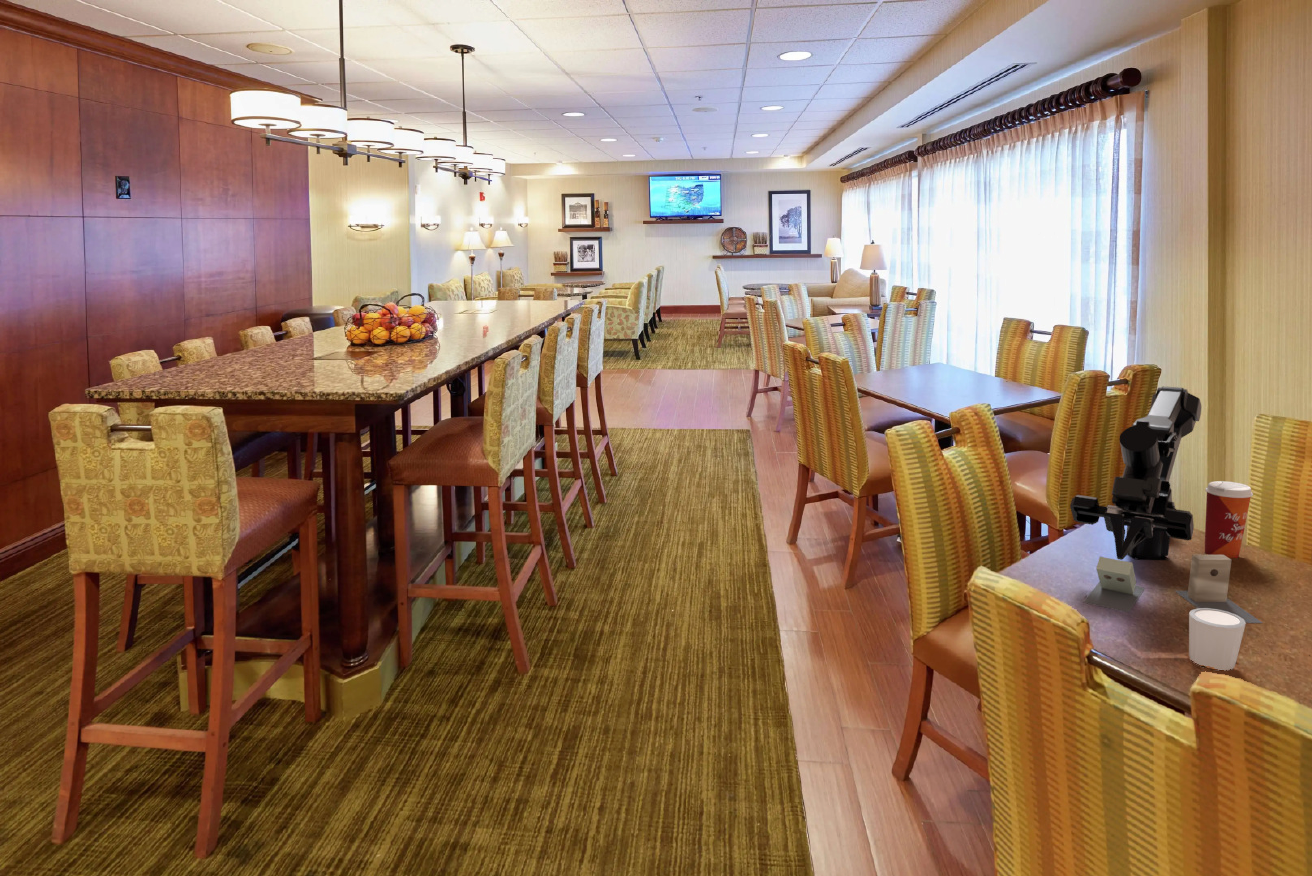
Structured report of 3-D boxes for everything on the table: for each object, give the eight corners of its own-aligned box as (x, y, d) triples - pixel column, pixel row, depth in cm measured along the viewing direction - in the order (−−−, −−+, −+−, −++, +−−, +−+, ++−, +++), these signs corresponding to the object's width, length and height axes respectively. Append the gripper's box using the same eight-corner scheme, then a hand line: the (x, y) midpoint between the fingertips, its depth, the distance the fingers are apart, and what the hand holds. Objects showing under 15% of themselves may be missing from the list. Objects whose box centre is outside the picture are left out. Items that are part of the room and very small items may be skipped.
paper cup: (1230, 564, 160) (1239, 493, 157) (1189, 552, 167) (1197, 484, 164) (1254, 556, 164) (1263, 486, 161) (1212, 545, 170) (1220, 478, 167)
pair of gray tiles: (1098, 623, 137) (1099, 619, 137) (1060, 581, 154) (1060, 578, 154) (1263, 627, 134) (1263, 623, 134) (1205, 583, 151) (1205, 580, 151)
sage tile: (1104, 576, 150) (1099, 556, 145) (1136, 582, 147) (1132, 562, 142) (1101, 588, 149) (1096, 569, 144) (1133, 595, 146) (1129, 575, 141)
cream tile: (1187, 595, 145) (1192, 554, 143) (1218, 596, 145) (1223, 554, 143) (1195, 601, 143) (1200, 559, 141) (1226, 602, 142) (1231, 559, 141)
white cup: (1185, 646, 128) (1190, 603, 127) (1240, 657, 125) (1245, 613, 123) (1182, 665, 123) (1187, 620, 121) (1239, 677, 119) (1245, 631, 118)
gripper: (1077, 451, 152) (1055, 525, 146) (1198, 465, 141) (1179, 546, 135) (1085, 484, 160) (1064, 555, 154) (1200, 500, 148) (1182, 578, 142)
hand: (1119, 558), depth 146 cm, fingers closed
